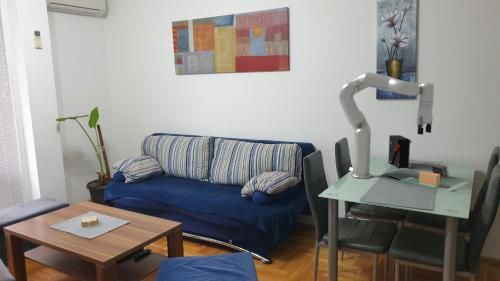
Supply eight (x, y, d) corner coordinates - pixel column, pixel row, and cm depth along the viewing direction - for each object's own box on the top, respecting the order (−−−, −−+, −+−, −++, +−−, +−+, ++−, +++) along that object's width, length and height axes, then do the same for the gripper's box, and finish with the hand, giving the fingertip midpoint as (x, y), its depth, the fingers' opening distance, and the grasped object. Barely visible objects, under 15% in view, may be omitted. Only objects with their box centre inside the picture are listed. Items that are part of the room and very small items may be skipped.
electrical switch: (449, 179, 234) (449, 164, 233) (442, 181, 233) (442, 166, 231) (437, 176, 243) (437, 161, 241) (430, 177, 242) (430, 163, 240)
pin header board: (398, 183, 230) (399, 173, 229) (410, 178, 238) (411, 169, 238) (436, 191, 213) (436, 181, 212) (447, 185, 222) (448, 176, 221)
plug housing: (418, 182, 222) (419, 172, 221) (422, 180, 225) (423, 171, 224) (435, 185, 215) (436, 175, 214) (439, 183, 217) (440, 174, 216)
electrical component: (411, 168, 263) (412, 139, 259) (396, 168, 263) (397, 139, 260) (401, 162, 280) (403, 135, 277) (387, 162, 280) (388, 135, 277)
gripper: (426, 103, 236) (425, 131, 239) (412, 105, 225) (410, 134, 228) (439, 103, 230) (437, 132, 233) (425, 105, 219) (423, 135, 222)
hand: (424, 133), depth 230 cm, fingers open, 9 cm apart
